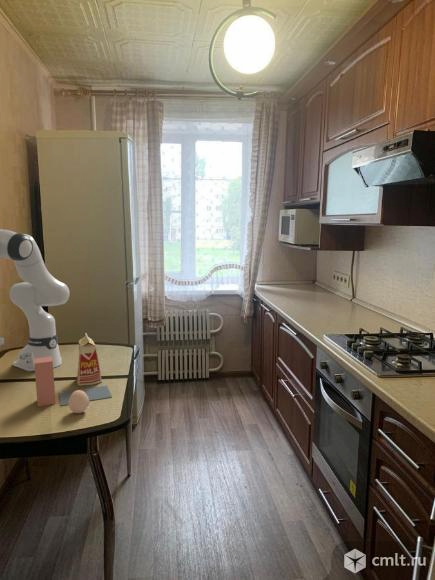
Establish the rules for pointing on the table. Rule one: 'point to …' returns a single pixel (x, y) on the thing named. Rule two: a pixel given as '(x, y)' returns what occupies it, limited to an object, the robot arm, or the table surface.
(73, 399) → the egg
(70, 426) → the table surface
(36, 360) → the block
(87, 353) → the milk carton
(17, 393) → the table surface
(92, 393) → the mat
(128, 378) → the table surface
